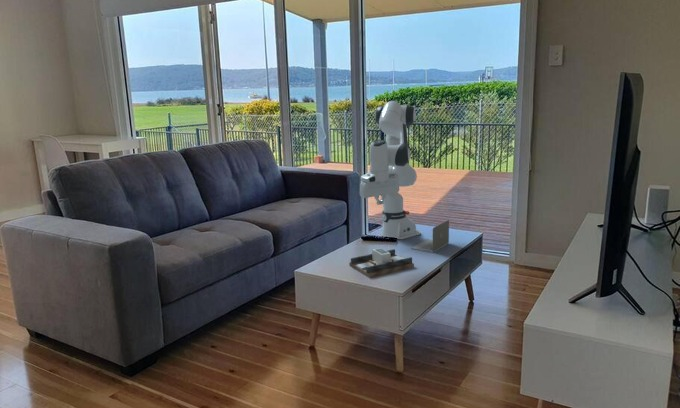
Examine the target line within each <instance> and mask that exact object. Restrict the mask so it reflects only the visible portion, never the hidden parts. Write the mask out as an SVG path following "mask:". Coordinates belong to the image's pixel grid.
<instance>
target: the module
mask: <svg viewBox="0 0 680 408" xmlns="http://www.w3.org/2000/svg"><path fill="white" fill-rule="evenodd" d="M371 251H372V252H371V254H372V260H374V261H376V262H377V263H379V264H382V263H387V262H391V257H390V253H389V252H387V251H388V250H385V249H384V248H381V247H379V248H373V249H372V250H371Z"/></svg>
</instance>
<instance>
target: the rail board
mask: <svg viewBox="0 0 680 408" xmlns="http://www.w3.org/2000/svg"><path fill="white" fill-rule="evenodd" d="M386 251H387V252H389V253H390V257H391V262H387V263H382V264H379V263H377V262H376V261H374V260H372V253H370V254H365V255H364V254H363V255H360V256H355V257H351V258H350V262H349V263H348V264H349V266H350V267H352V268H353V269H354V270H357V272H360V273H362V274H363V276H364V275H365V276H366V277H368V278H372V277H376V276H377V277H378V276H381V275H385V274H390V273H394V272H398V271H402V270H406V269H407V270H408V269H411V268H414V267H415V263H413V257H412V256H410V257H404V256H402V255H397V254H396V249H395V248H394V249H389V250H386Z"/></svg>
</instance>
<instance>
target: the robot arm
mask: <svg viewBox="0 0 680 408" xmlns="http://www.w3.org/2000/svg"><path fill="white" fill-rule="evenodd" d="M416 118H417V113H416V109H415V107H414V106H412V105H409V104H408V105H405V104H404V105H403V104H401V103H399V102H397V101H395V100H390V101H388V102H386V103H385V104H384V105H379V106H378V107H377V108H376V109H375V112H374V120H375V123H376V124H377V125H378V126H379V129H380V130H381V132H382V133H384V134H385V140H384V139H377V140H373V141H372V142H371V143H370V146H369V153H368V155H369V164H370V166H369V171H368V172H367V173H365V174H362V175H361V176H360V183H359V196H360V197H361V198H363V199H368V198H373V197H374V199H375V201H376V205H377V206H379V205H382V207H383V208H382V214H381V215H382V216H381V217H382V228H381V232H380V236H381V235H382V236H387V237H395V238H397V239H396V240H405V239H409V238H412V237H415V236H418V235H421V231H420V230H418V229H417V225H416V223H415V222H414V221H413V220H412V219H410V218H409V217H407V216H409V215H410V211H409V210H404V197H403V195H401V193H399V191H400V187H402V188H404V187H410V186H413V185H414V184H415V183H416V182H417V179H418V176H417V171H416V170H415V168H414V167H413V166H411V165H410V160H411V153H410V149H409V139H408V132H407V131H408V129H409V127H411V126H412V125H413V124H414V123H415V120H416ZM379 198H380V199H379ZM382 236H381V237H382Z"/></svg>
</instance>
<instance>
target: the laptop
mask: <svg viewBox="0 0 680 408" xmlns="http://www.w3.org/2000/svg"><path fill="white" fill-rule="evenodd" d="M449 243H450V220H449V219H448V220H446V221H444V222H442V223H441V224H438V225H436V226H435V227H433V228H432V239H429V238H427V239H425V240H423V241H421V242H420V243H418V244H416V245H414V246H411V249H413V250H417V251H422V252H426V253H431V254H433V253H435V252H437V251H438V250H441V249H442V248H444V247H445V246H447V245H448V244H449Z"/></svg>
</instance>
